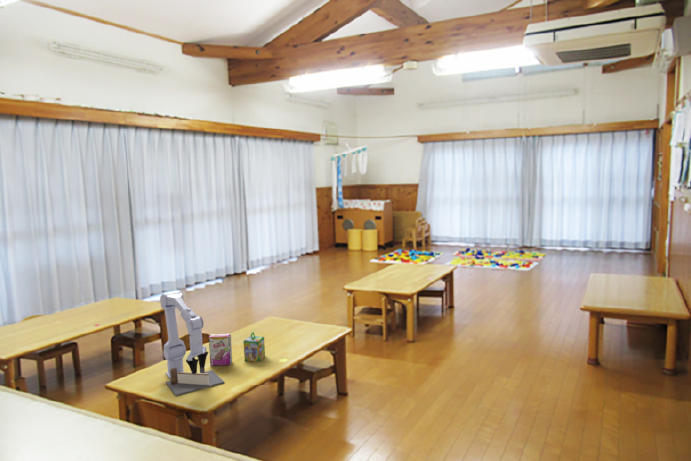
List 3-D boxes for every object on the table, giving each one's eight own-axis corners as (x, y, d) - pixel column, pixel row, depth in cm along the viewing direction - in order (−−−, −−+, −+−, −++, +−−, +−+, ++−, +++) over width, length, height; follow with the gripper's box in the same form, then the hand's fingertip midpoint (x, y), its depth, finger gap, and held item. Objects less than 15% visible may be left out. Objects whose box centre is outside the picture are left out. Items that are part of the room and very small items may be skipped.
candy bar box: (210, 366, 257) (208, 336, 255) (212, 362, 262) (210, 333, 260) (230, 365, 257) (229, 336, 255) (232, 361, 262) (231, 333, 260)
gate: (178, 383, 233) (177, 372, 232) (179, 382, 234) (178, 371, 233) (208, 384, 230) (207, 374, 229) (209, 384, 231) (208, 373, 230)
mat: (165, 383, 236) (165, 381, 236) (212, 371, 249) (212, 369, 249) (175, 396, 221) (175, 394, 221) (224, 383, 234) (224, 381, 234)
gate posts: (170, 384, 234) (169, 369, 233) (203, 374, 246) (202, 359, 245) (172, 386, 232) (171, 371, 231) (205, 376, 243) (204, 361, 243)
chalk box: (259, 362, 260) (258, 336, 259) (244, 361, 262) (242, 335, 261) (265, 356, 269) (264, 330, 268) (250, 355, 271) (249, 330, 270)
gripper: (196, 347, 218) (198, 376, 219) (211, 337, 232) (213, 364, 233) (182, 347, 219) (184, 375, 220) (197, 337, 233) (200, 364, 234)
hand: (198, 370), depth 227 cm, fingers open, 7 cm apart
